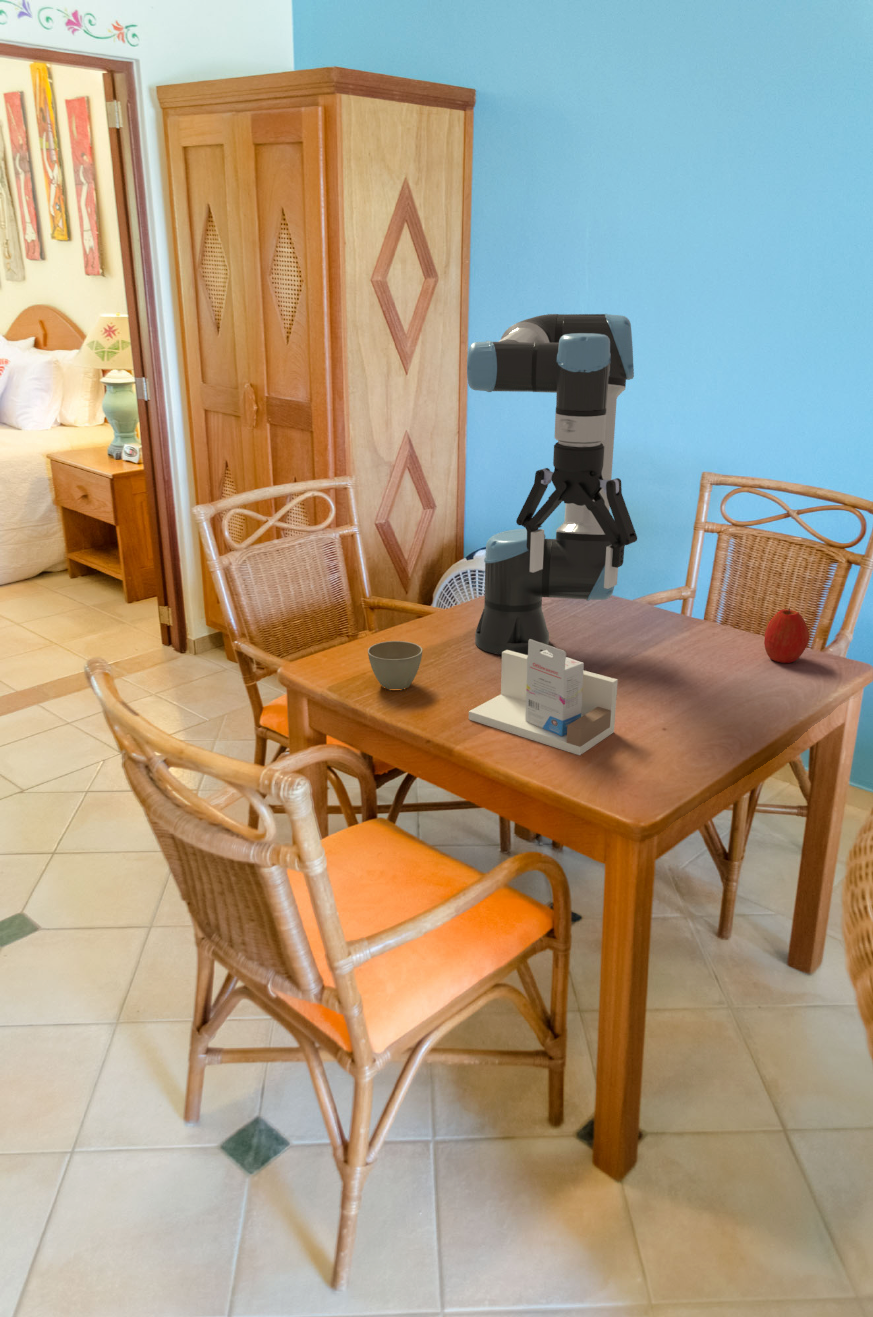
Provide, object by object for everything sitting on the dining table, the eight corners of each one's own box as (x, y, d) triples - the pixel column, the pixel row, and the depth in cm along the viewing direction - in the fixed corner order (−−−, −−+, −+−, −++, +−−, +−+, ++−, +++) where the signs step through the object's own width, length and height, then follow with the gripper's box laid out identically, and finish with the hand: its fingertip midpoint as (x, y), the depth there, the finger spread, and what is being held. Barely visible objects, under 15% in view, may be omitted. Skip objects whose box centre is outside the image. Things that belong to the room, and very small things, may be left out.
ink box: (582, 728, 167) (586, 644, 162) (561, 737, 164) (566, 652, 158) (543, 712, 173) (547, 631, 168) (523, 721, 170) (526, 638, 164)
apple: (811, 658, 201) (818, 607, 197) (795, 670, 195) (802, 617, 191) (771, 649, 206) (777, 598, 202) (754, 660, 200) (760, 608, 196)
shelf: (468, 719, 174) (469, 667, 171) (505, 699, 182) (506, 649, 179) (579, 755, 161) (582, 700, 158) (613, 732, 169) (617, 679, 166)
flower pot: (431, 680, 190) (431, 645, 187) (407, 700, 182) (407, 663, 179) (384, 672, 194) (383, 637, 191) (358, 690, 186) (357, 654, 183)
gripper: (496, 436, 156) (494, 569, 164) (642, 455, 142) (631, 599, 150) (524, 430, 162) (520, 559, 170) (666, 447, 147) (655, 587, 155)
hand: (572, 578), depth 160 cm, fingers open, 13 cm apart
